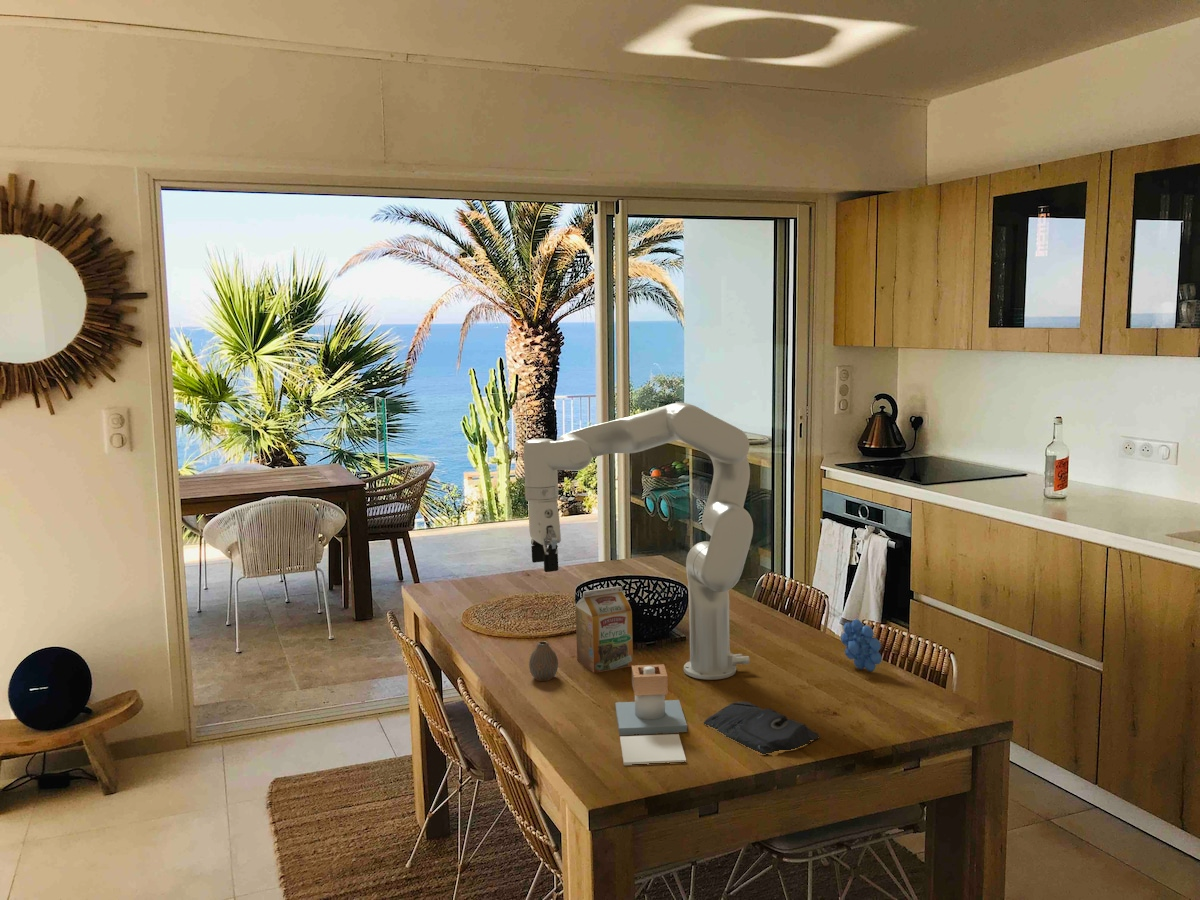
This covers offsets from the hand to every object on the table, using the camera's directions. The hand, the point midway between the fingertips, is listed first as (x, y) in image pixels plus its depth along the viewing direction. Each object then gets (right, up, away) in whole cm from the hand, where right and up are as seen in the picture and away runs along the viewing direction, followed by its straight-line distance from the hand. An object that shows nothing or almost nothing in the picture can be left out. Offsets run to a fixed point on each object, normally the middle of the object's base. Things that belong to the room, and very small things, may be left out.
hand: (545, 566), depth 228 cm
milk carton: (+14, -27, +19) cm, 36 cm away
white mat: (+23, -33, -32) cm, 51 cm away
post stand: (+23, -31, -17) cm, 42 cm away
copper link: (+23, -24, -18) cm, 38 cm away
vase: (-1, -28, +10) cm, 30 cm away
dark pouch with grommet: (+46, -32, -24) cm, 61 cm away
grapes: (+75, -26, +10) cm, 80 cm away
